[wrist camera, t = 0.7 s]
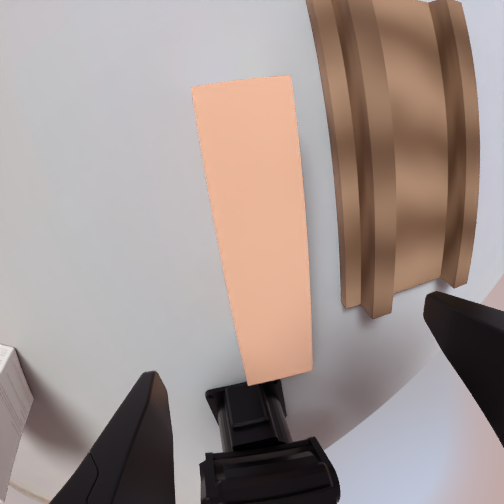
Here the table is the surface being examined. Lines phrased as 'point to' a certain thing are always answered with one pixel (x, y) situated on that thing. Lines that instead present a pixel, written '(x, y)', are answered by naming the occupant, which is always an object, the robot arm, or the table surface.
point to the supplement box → (11, 412)
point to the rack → (399, 142)
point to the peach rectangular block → (259, 219)
